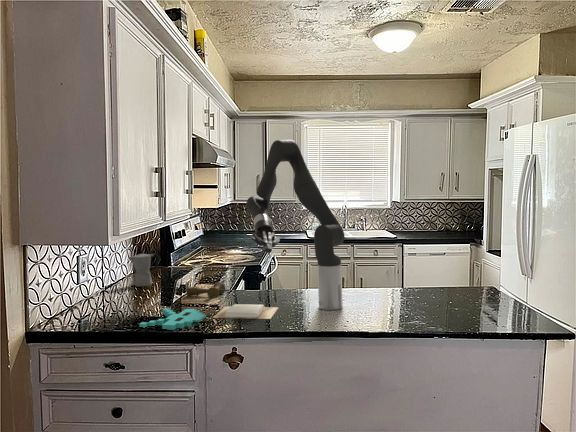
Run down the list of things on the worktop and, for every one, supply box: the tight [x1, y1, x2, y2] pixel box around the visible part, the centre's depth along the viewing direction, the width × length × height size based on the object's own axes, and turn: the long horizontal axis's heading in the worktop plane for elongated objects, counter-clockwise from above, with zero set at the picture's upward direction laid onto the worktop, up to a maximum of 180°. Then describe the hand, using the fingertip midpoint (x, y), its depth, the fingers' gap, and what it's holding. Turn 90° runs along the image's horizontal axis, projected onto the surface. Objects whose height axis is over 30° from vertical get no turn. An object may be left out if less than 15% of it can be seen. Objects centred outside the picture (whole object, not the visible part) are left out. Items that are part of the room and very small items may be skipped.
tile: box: [226, 303, 265, 319], centre depth 174 cm, size 12×2×11 cm
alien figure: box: [138, 307, 207, 331], centre depth 171 cm, size 20×2×20 cm
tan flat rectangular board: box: [212, 306, 279, 320], centre depth 176 cm, size 22×15×1 cm
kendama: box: [185, 281, 231, 300], centre depth 207 cm, size 6×10×20 cm
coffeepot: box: [128, 249, 161, 288], centre depth 236 cm, size 15×9×18 cm, turn 112°
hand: (269, 251), depth 186 cm, fingers closed
